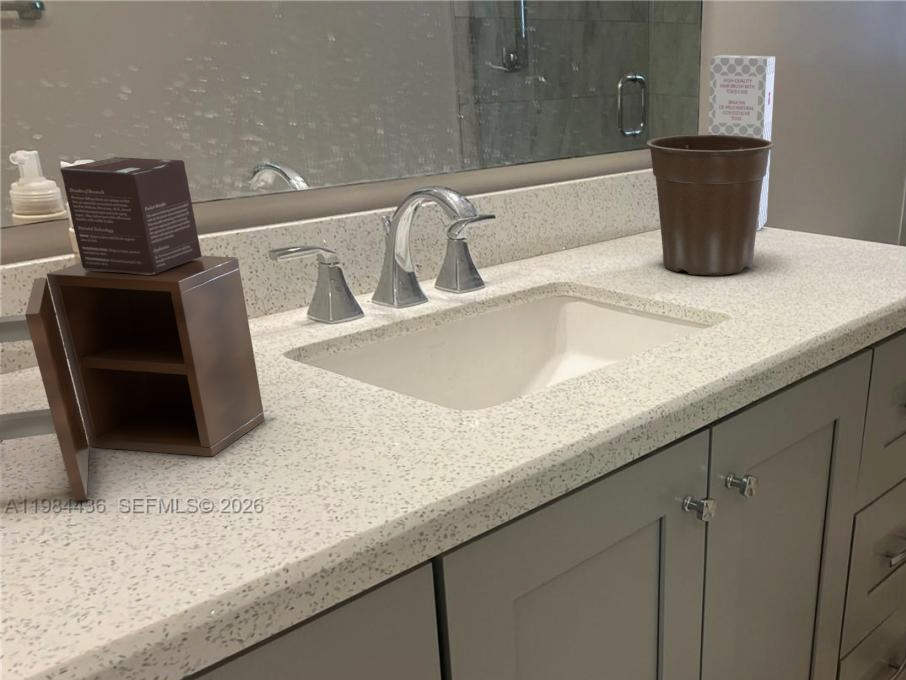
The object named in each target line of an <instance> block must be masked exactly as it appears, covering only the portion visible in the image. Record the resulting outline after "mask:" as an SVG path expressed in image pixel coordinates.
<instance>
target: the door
mask: <svg viewBox="0 0 906 680" xmlns="http://www.w3.org/2000/svg"><path fill="white" fill-rule="evenodd" d="M24 341H25V342H26V341H31V342H32V346H33V350H34V354H35V358H36V361H37V365H38V369H39V374H40V377H41V380H42V384H43V385H42V386H43V388H44V392H45V396H46V400H47V403H48V407H49V408H42V409H34V410H27V411H19V412H11V413H3V414H0V442H1V441H7V440H15V439H23V438H31V437H38V436H46V435H53V434H56V437H57V442H58V445H59V449H60V450H59V451H60V453H61V457H62V460H63V466H64V469H65V471H66V472H65V473H66V475H67V476H66V477H67V480H68V483H69V487H70V491H71V495H72V499H73V501H74V502H79V501H80V502H81V501H86V500H88V481H89V480H88V479H89V457H90V456H89V452H90V446H89V442H88V437H87V434H86V430H85V426H84V422H83V418H82V414H81V410H80V406H79V402H78V398H77V394H76V390H75V386H74V382H73V378H72V373H71V369H70V365H69V361H68V357H67V353H66V349H65V345H64V341H63V337H62V333H61V329H60V325H59V321H58V317H57V313H56V309H55V305H54V301H53V297H52V293H51V289H50V284H49V282H48V278H47V277H38V278H37V277H36V278H34V279H33V282H32V287H31V290H30V295H29V298H28V302H27V306H26V310H25V314H16V315H5V316H4V315H3V316H0V344H4V343H12V342H13V343H14V342H24Z"/></svg>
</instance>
